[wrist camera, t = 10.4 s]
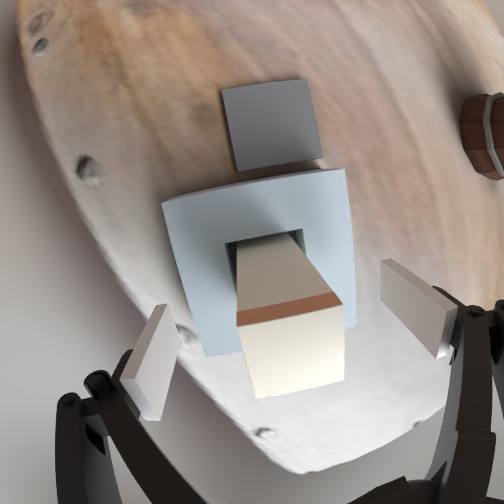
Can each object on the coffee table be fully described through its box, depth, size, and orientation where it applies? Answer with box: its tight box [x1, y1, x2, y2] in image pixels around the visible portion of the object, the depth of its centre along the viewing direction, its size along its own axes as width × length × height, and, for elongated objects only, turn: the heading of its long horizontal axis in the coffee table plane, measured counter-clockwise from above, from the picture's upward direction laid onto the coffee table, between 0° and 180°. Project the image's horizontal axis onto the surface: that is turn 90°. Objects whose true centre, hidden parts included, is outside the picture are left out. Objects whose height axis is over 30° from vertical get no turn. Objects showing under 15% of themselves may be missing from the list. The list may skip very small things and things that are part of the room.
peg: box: [236, 231, 344, 399], centre depth 18 cm, size 4×4×14 cm
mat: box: [222, 79, 323, 172], centre depth 23 cm, size 8×8×1 cm
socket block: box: [161, 169, 356, 357], centre depth 24 cm, size 14×14×6 cm
